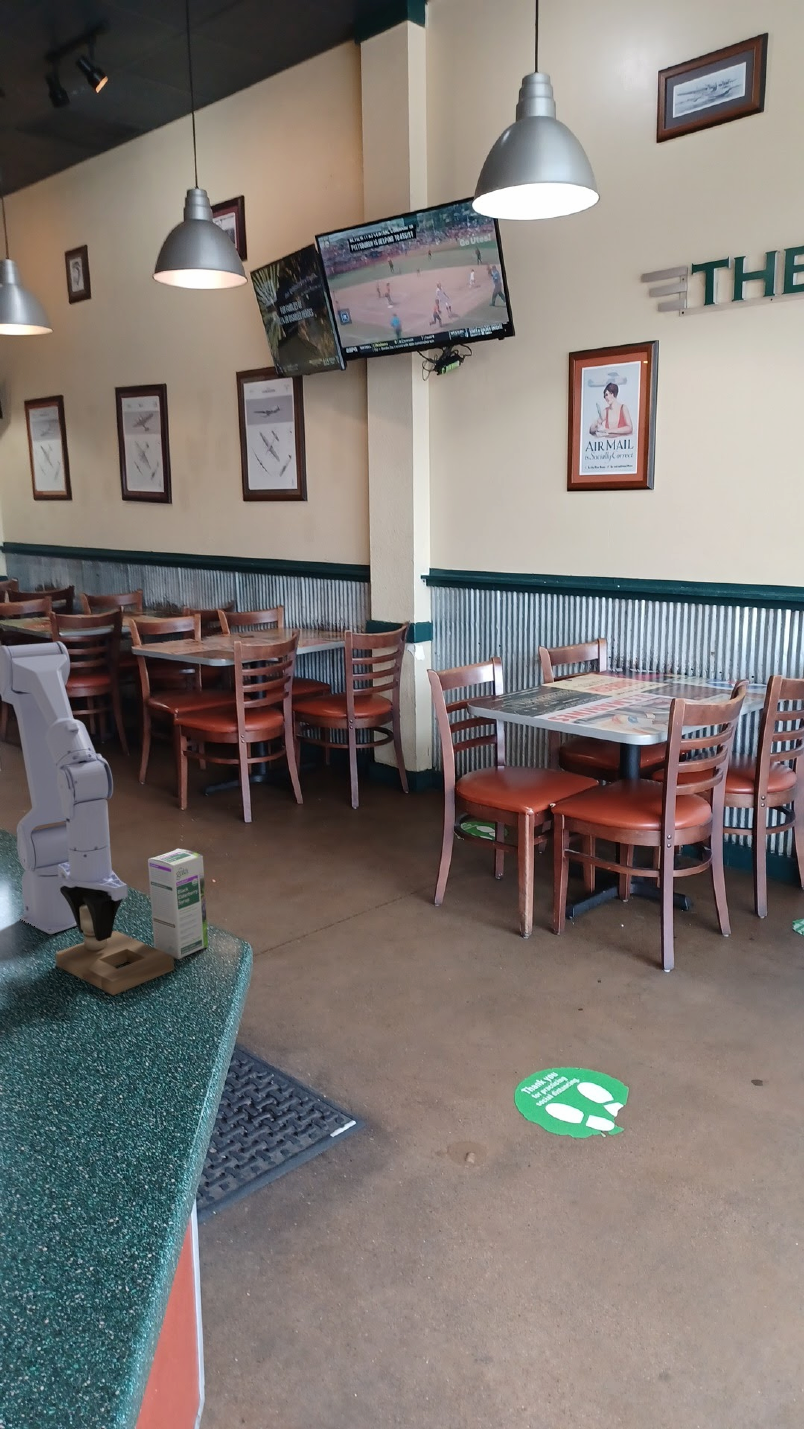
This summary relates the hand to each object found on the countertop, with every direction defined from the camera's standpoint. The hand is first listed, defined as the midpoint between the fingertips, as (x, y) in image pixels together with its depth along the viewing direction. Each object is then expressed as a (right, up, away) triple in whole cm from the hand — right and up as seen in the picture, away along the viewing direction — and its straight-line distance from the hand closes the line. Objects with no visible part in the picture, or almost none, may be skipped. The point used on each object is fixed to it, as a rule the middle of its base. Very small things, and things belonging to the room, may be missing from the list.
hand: (95, 934), depth 145 cm
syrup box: (+11, -3, +4) cm, 13 cm away
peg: (0, -2, 0) cm, 2 cm away
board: (+3, -4, -2) cm, 6 cm away
